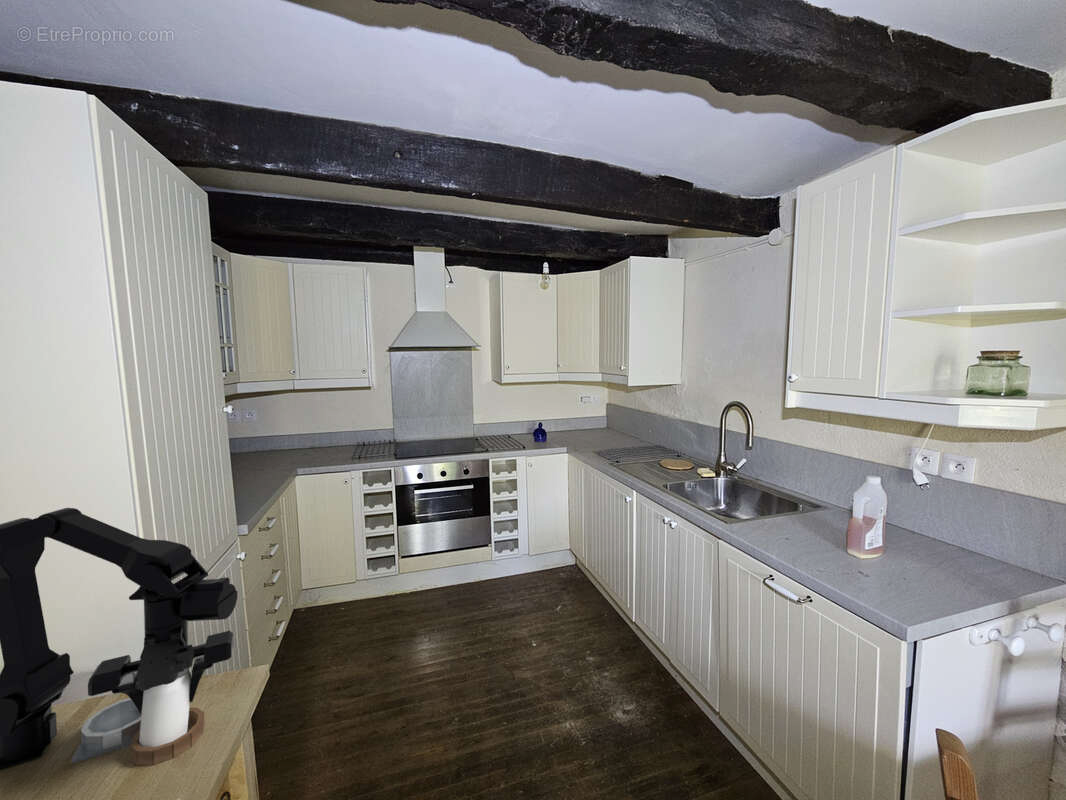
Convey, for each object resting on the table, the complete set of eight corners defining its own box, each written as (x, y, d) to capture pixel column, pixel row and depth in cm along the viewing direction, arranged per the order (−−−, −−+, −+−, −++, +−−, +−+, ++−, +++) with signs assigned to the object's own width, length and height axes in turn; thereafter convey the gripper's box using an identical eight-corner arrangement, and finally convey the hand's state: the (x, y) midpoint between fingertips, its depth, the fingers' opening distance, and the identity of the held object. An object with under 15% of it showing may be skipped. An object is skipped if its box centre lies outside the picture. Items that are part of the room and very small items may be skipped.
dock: (70, 764, 71) (70, 746, 71) (92, 723, 79) (92, 707, 79) (150, 738, 76) (149, 722, 76) (163, 702, 85) (162, 688, 84)
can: (129, 759, 71) (135, 686, 71) (152, 730, 77) (157, 663, 77) (175, 753, 73) (181, 683, 73) (194, 725, 79) (199, 660, 79)
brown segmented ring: (124, 775, 69) (123, 760, 69) (140, 733, 77) (140, 720, 77) (199, 749, 74) (199, 735, 74) (207, 712, 82) (206, 700, 82)
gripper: (72, 663, 63) (75, 766, 64) (227, 627, 73) (229, 716, 73) (98, 627, 73) (101, 717, 73) (232, 599, 82) (234, 678, 83)
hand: (168, 707), depth 75 cm, fingers closed on can, 6 cm apart
